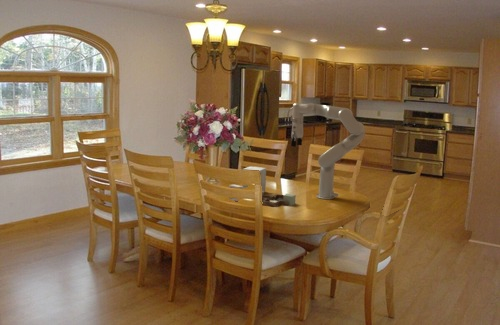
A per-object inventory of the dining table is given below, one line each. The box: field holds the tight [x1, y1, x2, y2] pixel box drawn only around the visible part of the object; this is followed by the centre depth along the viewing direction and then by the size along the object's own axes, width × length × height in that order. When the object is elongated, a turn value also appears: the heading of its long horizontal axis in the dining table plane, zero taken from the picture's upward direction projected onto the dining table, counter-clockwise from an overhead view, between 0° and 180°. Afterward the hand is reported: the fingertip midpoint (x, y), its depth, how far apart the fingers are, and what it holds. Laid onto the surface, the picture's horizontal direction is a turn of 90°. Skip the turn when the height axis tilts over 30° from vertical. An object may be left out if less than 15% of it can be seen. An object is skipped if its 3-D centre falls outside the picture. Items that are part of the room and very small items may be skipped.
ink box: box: [228, 184, 243, 202], centre depth 315 cm, size 8×5×12 cm, turn 47°
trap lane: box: [261, 191, 289, 208], centre depth 324 cm, size 23×24×5 cm
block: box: [282, 193, 297, 207], centre depth 319 cm, size 6×6×6 cm
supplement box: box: [241, 165, 267, 193], centre depth 349 cm, size 13×13×18 cm
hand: (296, 145), depth 344 cm, fingers open, 9 cm apart
